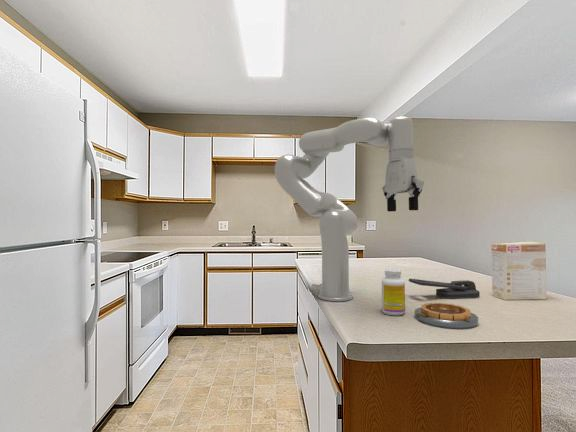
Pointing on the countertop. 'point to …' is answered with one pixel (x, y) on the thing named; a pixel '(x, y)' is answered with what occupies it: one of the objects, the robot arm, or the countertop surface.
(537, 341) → the countertop surface
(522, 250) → the coffeecake box
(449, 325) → the rosette plate
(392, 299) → the supplement bottle
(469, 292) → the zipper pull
